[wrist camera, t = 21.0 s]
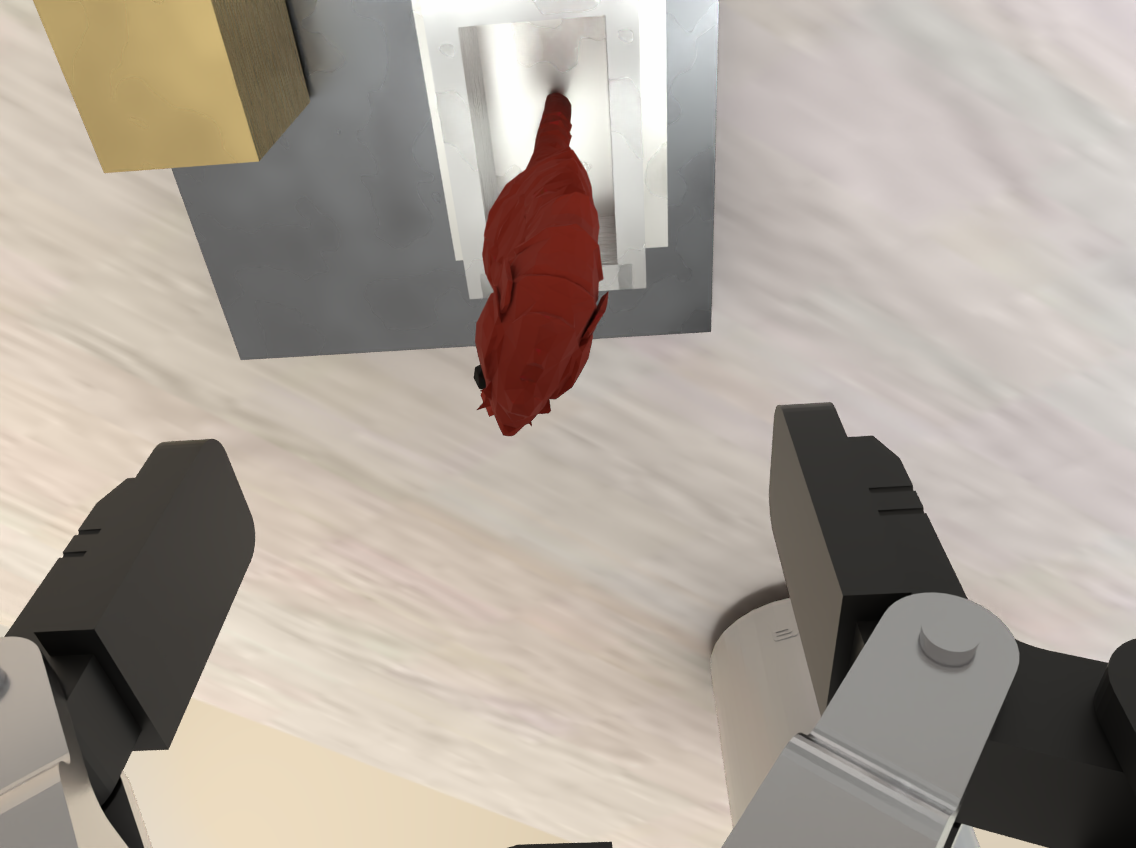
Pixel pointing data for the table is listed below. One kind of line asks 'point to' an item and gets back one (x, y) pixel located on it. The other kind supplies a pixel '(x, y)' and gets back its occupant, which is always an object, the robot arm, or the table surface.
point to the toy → (539, 279)
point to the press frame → (463, 169)
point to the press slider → (178, 78)
